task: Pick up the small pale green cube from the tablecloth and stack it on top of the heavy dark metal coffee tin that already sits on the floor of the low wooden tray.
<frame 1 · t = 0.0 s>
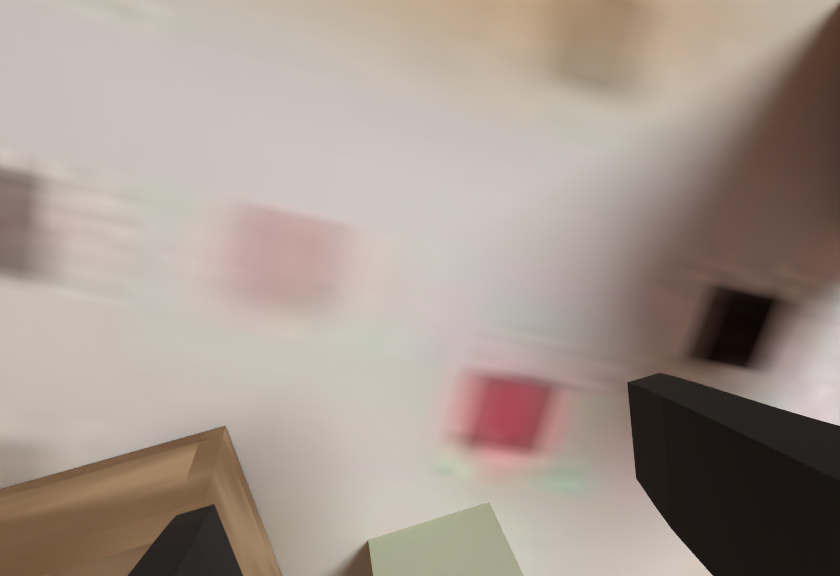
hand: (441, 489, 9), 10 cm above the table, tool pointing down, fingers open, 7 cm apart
pale green cube: (441, 567, 23), on the table
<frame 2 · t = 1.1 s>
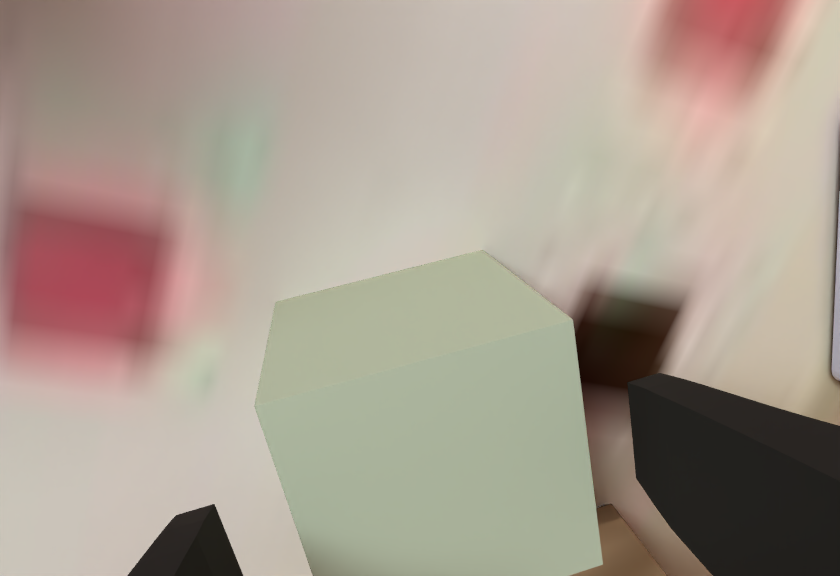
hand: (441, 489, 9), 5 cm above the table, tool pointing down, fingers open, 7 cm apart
pale green cube: (403, 367, 14), on the table
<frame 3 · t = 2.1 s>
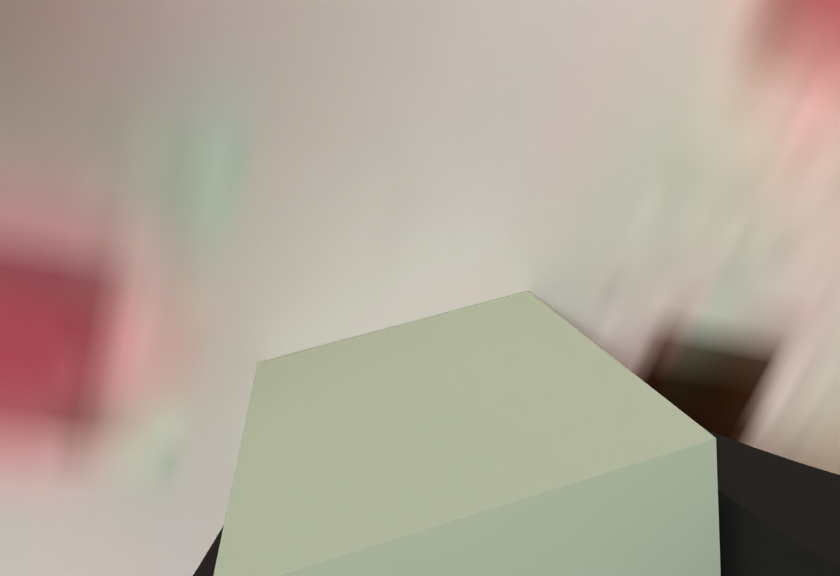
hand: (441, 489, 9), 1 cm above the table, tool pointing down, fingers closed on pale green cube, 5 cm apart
pale green cube: (424, 442, 11), on the table, touching gripper
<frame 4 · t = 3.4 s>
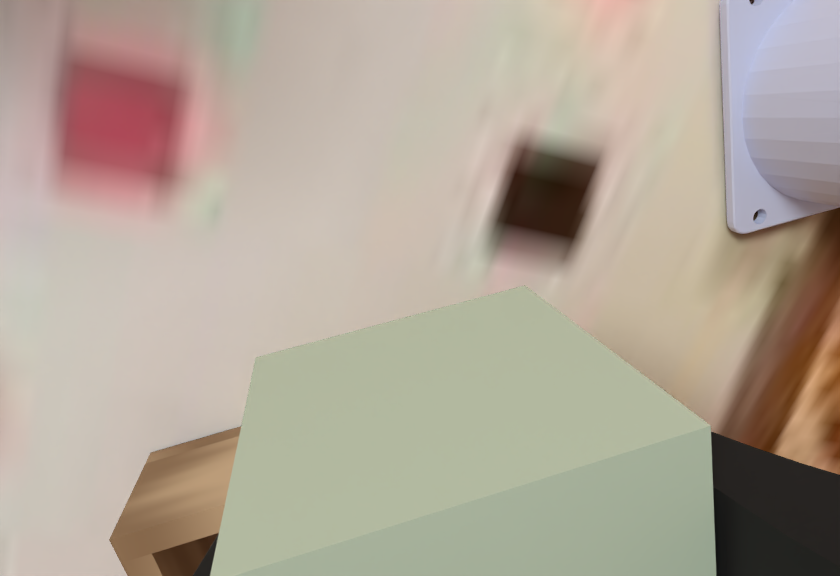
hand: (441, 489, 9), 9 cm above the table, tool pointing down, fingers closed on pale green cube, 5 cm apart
wooden tray: (403, 549, 21), on the table
pale green cube: (422, 437, 11), point 8 cm above the table, touching gripper
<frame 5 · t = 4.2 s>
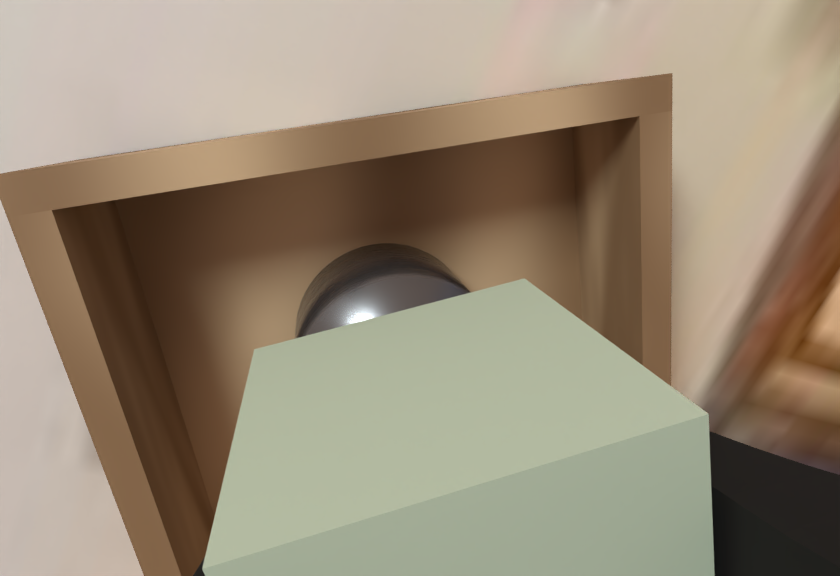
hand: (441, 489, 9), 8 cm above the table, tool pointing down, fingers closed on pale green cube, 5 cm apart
wooden tray: (388, 351, 17), on the table
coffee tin: (385, 329, 16), point 1 cm above the table, touching wooden tray
pale green cube: (421, 430, 11), point 7 cm above the table, touching gripper
when the fingers open (7 cm above the table, at t = 4.9 s): pale green cube stays where it is, resting on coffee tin.
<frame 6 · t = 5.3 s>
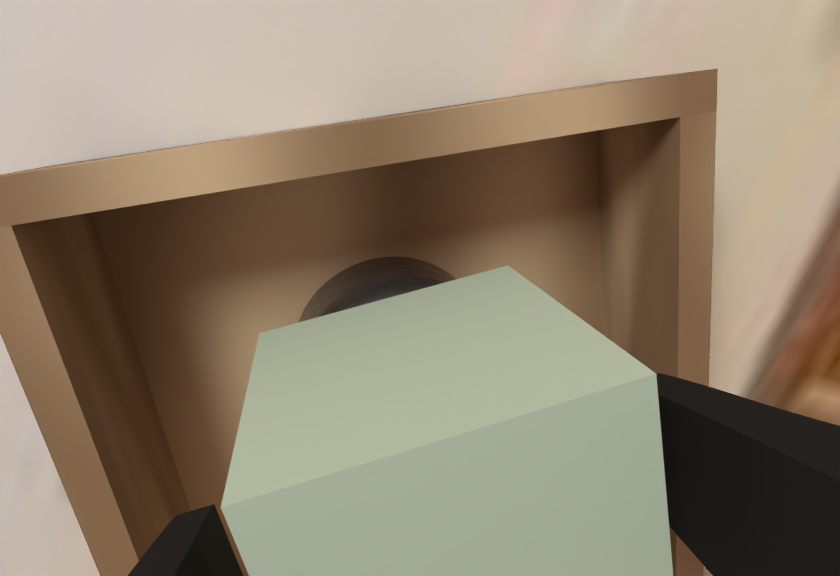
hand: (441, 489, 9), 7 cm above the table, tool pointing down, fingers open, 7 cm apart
wooden tray: (394, 373, 16), on the table
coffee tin: (391, 349, 15), point 1 cm above the table, touching pale green cube, wooden tray
pale green cube: (414, 407, 12), point 4 cm above the table, touching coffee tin
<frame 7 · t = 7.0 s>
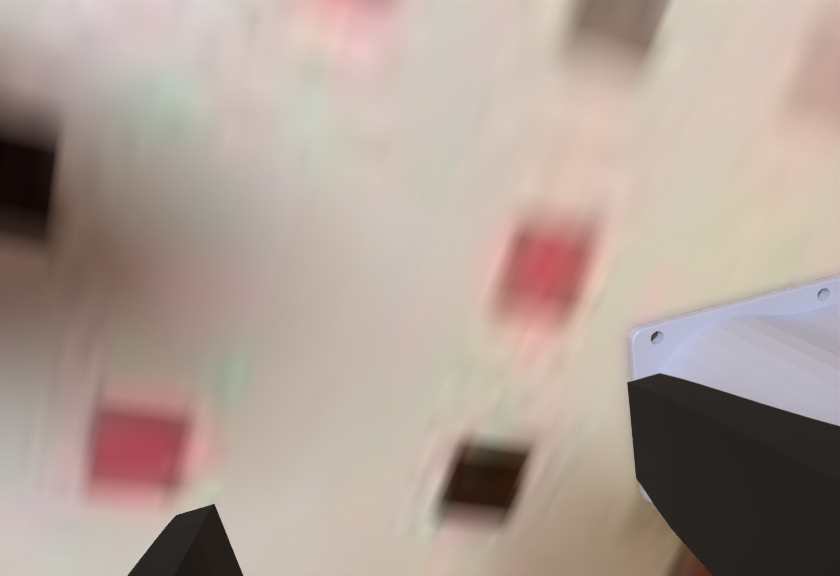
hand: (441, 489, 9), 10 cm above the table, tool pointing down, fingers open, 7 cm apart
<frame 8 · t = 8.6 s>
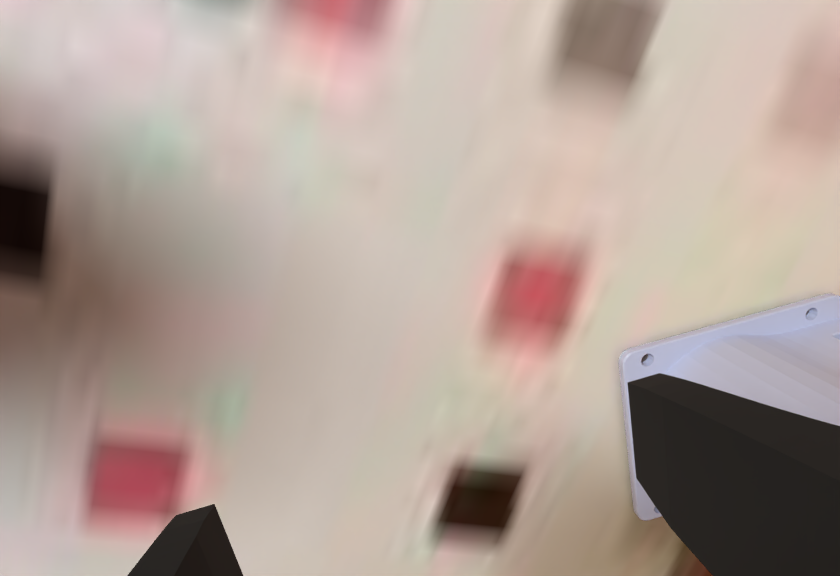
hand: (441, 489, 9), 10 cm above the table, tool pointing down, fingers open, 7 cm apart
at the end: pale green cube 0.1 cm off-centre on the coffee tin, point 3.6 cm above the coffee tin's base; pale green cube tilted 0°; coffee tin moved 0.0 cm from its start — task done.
